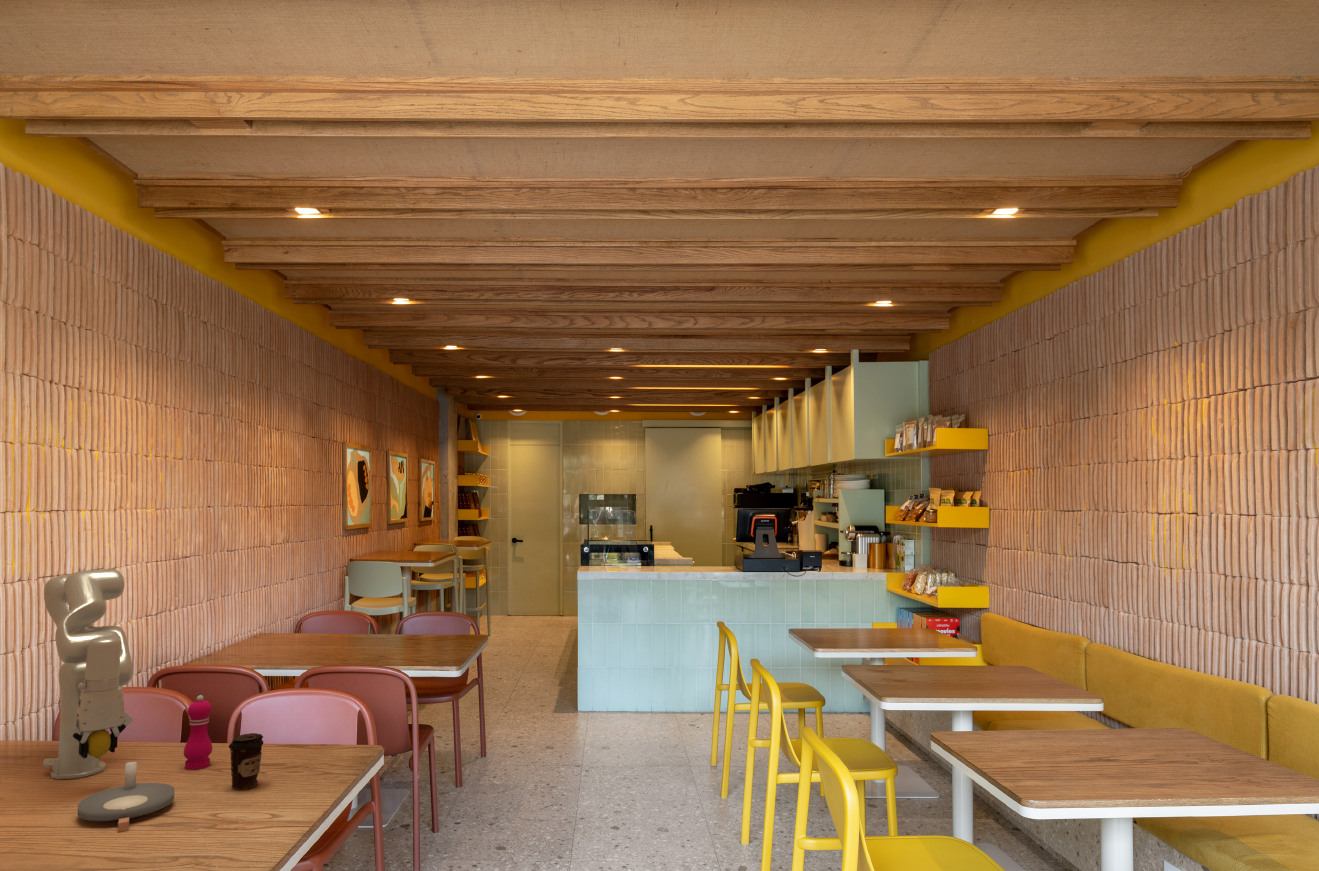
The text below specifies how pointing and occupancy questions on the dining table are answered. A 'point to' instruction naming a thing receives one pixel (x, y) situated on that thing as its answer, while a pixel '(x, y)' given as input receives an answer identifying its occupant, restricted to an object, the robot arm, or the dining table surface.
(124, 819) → the pink rectangular block
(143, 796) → the turntable
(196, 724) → the pepper mill
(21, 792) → the dining table surface
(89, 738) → the lemon
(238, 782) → the coffee cup
